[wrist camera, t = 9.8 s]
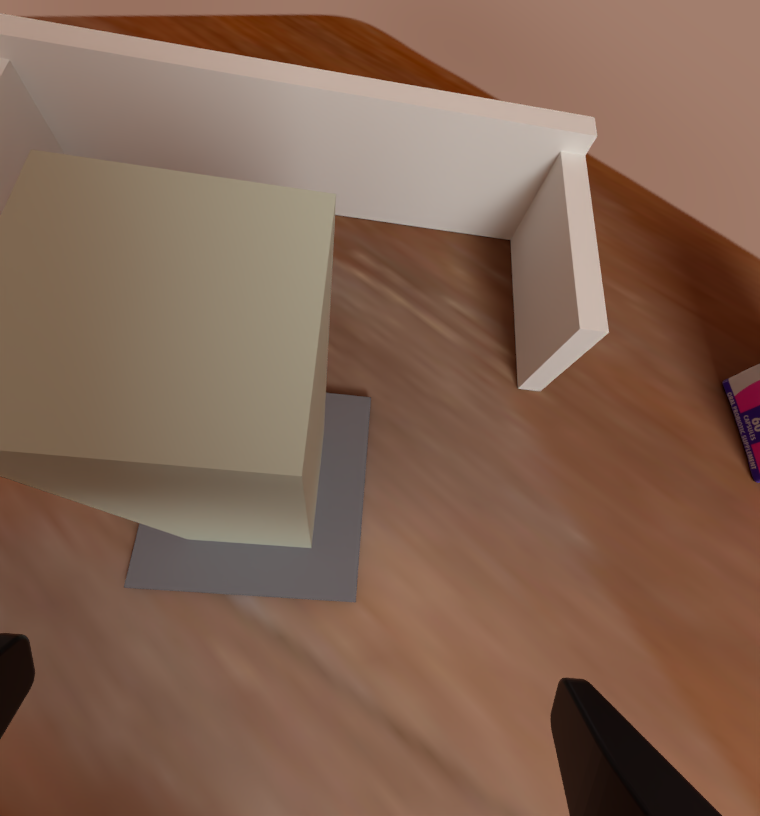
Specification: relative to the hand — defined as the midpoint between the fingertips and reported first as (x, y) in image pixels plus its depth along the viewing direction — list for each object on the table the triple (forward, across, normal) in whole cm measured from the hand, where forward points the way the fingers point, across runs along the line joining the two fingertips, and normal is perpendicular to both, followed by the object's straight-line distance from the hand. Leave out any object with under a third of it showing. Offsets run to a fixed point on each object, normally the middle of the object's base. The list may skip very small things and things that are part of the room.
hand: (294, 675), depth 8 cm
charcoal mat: (+12, +4, +3) cm, 13 cm away
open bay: (+19, +4, -6) cm, 21 cm away
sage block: (+12, +4, +3) cm, 13 cm away
